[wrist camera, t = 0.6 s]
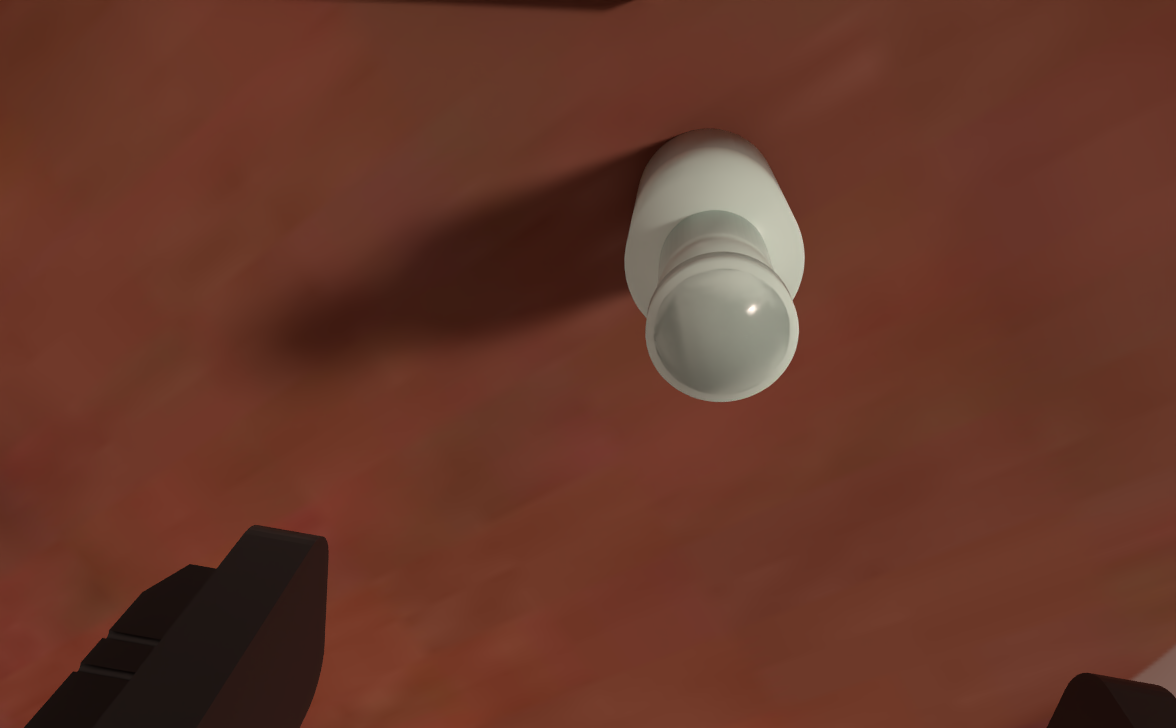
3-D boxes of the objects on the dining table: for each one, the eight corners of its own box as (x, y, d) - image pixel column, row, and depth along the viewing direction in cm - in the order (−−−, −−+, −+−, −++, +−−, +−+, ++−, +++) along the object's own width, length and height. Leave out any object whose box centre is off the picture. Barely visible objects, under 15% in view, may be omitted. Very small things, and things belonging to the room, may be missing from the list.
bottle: (784, 132, 34) (852, 231, 20) (766, 268, 36) (818, 440, 23) (641, 125, 34) (615, 217, 21) (633, 260, 37) (604, 423, 23)
